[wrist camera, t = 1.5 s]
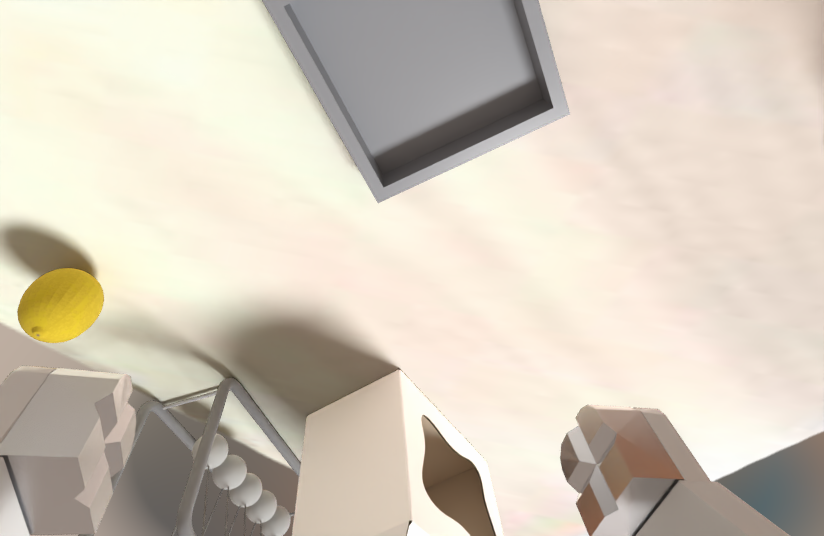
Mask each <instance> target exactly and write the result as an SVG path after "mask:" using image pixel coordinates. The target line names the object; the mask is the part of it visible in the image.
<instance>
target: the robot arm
mask: <svg viewBox="0 0 824 536" xmlns="http://www.w3.org/2000/svg"><path fill="white" fill-rule="evenodd" d="M132 391H133V388H132V383H131V377H130V376H129V375H127V374H120V373H109V372H98V371H87V370H76V369H65V368H48V367H37V366H25V365H22V366H20V367H19V368H17V369H16V370H14V371H12V372H11V373H10V374H9V375H8V376H7V378H6V379H5V380H4V382H3V383H2V384H1V385H0V536H30V535H62V534H95V533H96V531H97V528H98V526H99V524H100V521H101V519H102V517H103V515H104V512H105V510H106V508H107V506H108V503H109V501H110V499H111V496H112V494H113V490H112V483H111V477H112V476H113V475H115V474H116V473H117V472H119V471H120V470H121V469H123V468H124V466H125V464H126V461H127V459H128V457H129V454H130V452H131V448H132V444H133V440H134V436H135V429H136V414H135V409H134V408H133V407H132V406H131V405H129V404H128V403H127V402H128V399H129V397H130V395H131V393H132ZM576 420H577V423H578V426H577V427H576V428H574V429H573V430H571V431H569V432H568V433H567V434H566V436H565V438H564V440H563V442H562V444H561V456H560V460H561V465H562V470H563V473H564V475H565V478H566V480H567V482H568V483H569V484H570V485H571V486H572V487H573V488H574V489H575V490H576V491H577V492H578V493H579V494H578V498H577V502H576V505H577V507H578V510H579V512H580V515H581V517H582V519H583V522H584V524H585V526H586V529H587V531H588V534H589V536H789V535H788V534H787V533H785V532H784V531H783V530H781V529H780V528H779V527H777V526H776V525H775V524H773V523H772V522H771V521H769V520H768V519H767V518H765V517H764V516H763V515H761V514H760V513H759V512H757V511H756V510H755V509H753V508H752V507H750V506H749V505H748V504H747V503H745V502H744V501H743V500H741V499H740V498H739V497H737V496H736V495H735V494H733V493H732V492H730V491H729V490H728V489H727V488H725V487H724V486H723V485H721V484H720V483H719V482H711V481H710V479H709V478H708V477H707V475H706V474H705V472H704V471H703V469H702V468H701V466H700V465H699V463H698V462H697V460H696V459H695V458H694V456H693V455H692V453H691V452H690V450H689V449H688V447H687V446H686V444H685V443H684V441H683V440H682V439H681V437H680V436H679V434H678V433H677V431H676V430H675V428H674V427H673V425H672V424H671V423H670V421H669V420H668V418H667V417H666V415H665V414H664V413H662V412H661V411H660V410H658V409H650V408H631V407H618V406H600V405H586V406H585V407H583V408H581V409H580V411H579V413H578V414H577V416H576Z"/></svg>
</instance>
